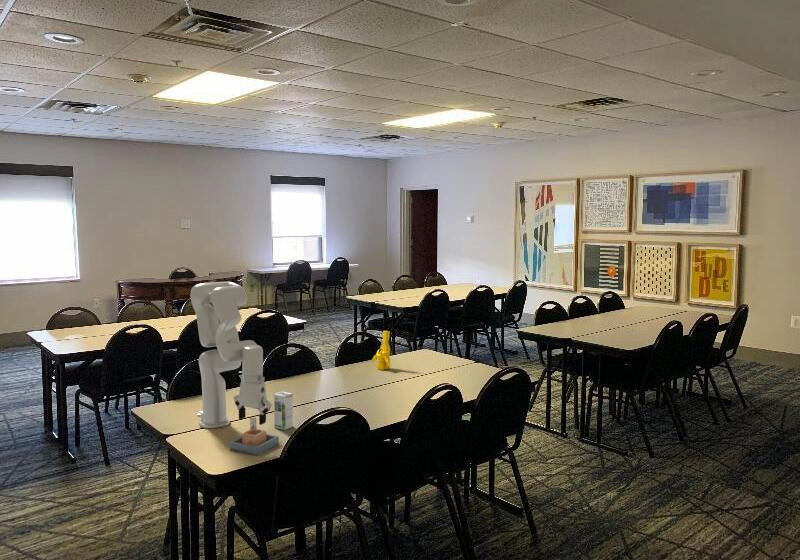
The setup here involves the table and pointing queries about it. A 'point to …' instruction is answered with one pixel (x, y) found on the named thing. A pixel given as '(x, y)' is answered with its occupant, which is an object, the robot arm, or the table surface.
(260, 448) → the tray
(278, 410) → the syrup box
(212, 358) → the robot arm
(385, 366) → the figure statuette
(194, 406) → the table surface
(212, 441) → the table surface
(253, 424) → the stake
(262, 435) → the salmon pink block
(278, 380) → the table surface
